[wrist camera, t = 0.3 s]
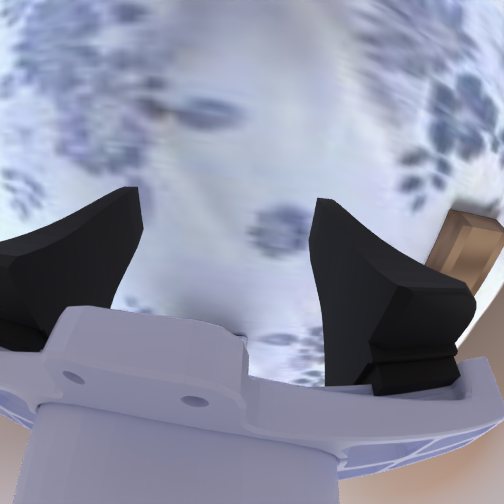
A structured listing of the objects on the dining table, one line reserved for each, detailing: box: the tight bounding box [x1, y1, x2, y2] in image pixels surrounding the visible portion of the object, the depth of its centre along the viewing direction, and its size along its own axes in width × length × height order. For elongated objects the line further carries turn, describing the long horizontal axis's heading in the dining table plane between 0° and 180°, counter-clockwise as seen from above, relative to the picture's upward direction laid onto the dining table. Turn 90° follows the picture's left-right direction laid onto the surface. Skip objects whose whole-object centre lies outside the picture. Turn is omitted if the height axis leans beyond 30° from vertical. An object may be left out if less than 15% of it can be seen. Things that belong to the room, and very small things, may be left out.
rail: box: [425, 210, 504, 296], centre depth 30 cm, size 28×7×2 cm, turn 176°
